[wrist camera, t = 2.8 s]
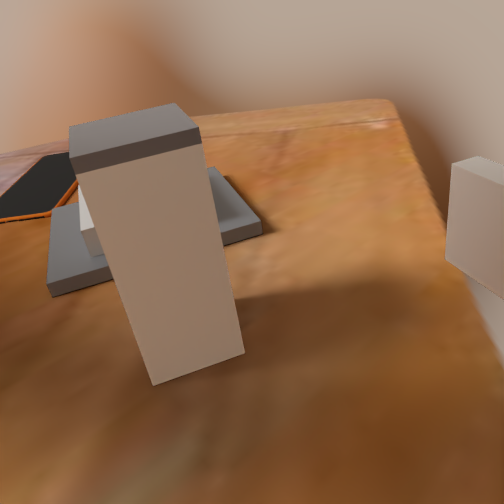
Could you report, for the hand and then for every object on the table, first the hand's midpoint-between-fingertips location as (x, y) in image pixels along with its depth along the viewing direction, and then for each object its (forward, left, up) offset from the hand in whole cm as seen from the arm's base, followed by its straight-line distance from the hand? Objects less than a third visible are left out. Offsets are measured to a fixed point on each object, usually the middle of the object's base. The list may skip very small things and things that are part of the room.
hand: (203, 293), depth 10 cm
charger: (0, +10, -10) cm, 14 cm away
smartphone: (-8, +40, -10) cm, 42 cm away
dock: (0, +24, -9) cm, 26 cm away
